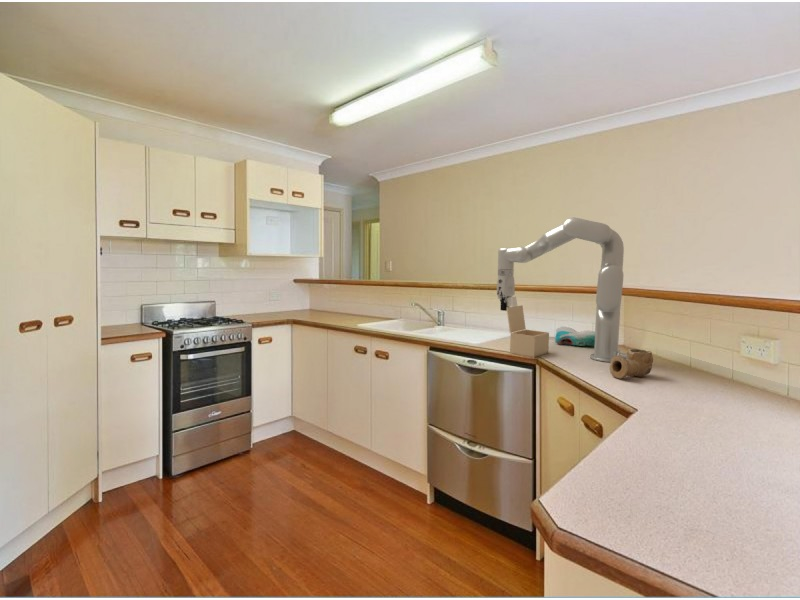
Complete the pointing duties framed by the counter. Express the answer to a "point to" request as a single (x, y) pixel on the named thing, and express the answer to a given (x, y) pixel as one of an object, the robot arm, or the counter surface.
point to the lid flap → (515, 315)
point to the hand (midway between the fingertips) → (504, 310)
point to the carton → (529, 343)
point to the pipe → (632, 364)
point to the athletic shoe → (574, 337)
